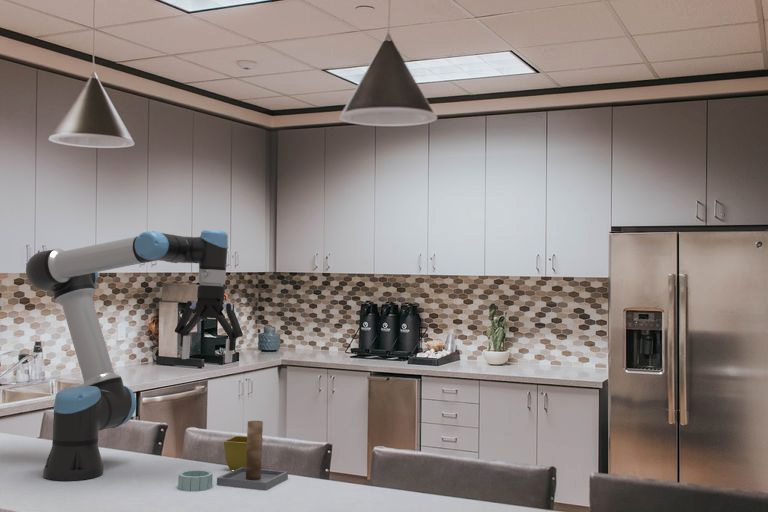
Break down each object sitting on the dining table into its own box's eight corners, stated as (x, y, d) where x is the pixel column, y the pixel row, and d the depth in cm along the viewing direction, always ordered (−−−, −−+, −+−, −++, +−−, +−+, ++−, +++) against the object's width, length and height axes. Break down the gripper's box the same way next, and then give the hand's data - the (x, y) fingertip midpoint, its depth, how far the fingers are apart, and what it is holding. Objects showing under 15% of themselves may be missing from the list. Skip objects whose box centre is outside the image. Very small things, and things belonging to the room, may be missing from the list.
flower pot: (251, 475, 217) (252, 442, 217) (222, 472, 218) (223, 440, 219) (262, 468, 225) (263, 437, 226) (234, 466, 227) (235, 435, 227)
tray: (216, 487, 201) (217, 477, 201) (241, 476, 215) (241, 467, 215) (265, 492, 197) (265, 482, 197) (287, 481, 211) (288, 471, 211)
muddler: (242, 479, 205) (245, 422, 206) (249, 476, 208) (251, 420, 209) (256, 480, 203) (258, 423, 204) (263, 477, 207) (265, 421, 208)
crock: (171, 491, 196) (172, 475, 196) (189, 484, 204) (189, 468, 204) (201, 494, 193) (201, 478, 194) (217, 487, 201) (218, 471, 202)
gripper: (165, 282, 217) (160, 358, 216) (245, 286, 210) (240, 364, 209) (180, 283, 225) (175, 356, 224) (257, 287, 217) (253, 363, 216)
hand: (206, 360), depth 216 cm, fingers open, 13 cm apart
